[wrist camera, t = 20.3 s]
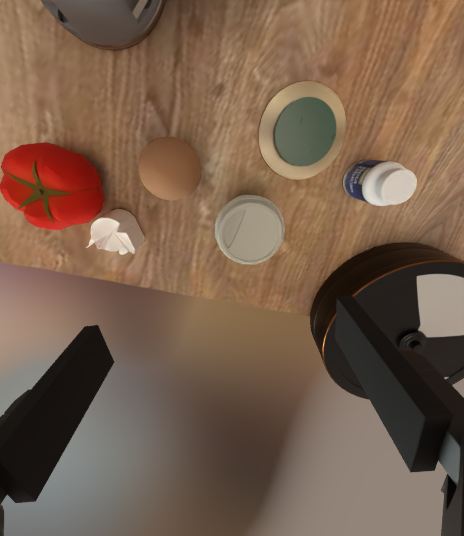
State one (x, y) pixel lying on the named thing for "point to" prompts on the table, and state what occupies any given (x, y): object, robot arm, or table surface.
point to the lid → (304, 131)
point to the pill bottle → (379, 182)
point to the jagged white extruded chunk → (117, 232)
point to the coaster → (271, 116)
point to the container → (397, 307)
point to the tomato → (51, 185)
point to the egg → (169, 168)
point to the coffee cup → (249, 229)
